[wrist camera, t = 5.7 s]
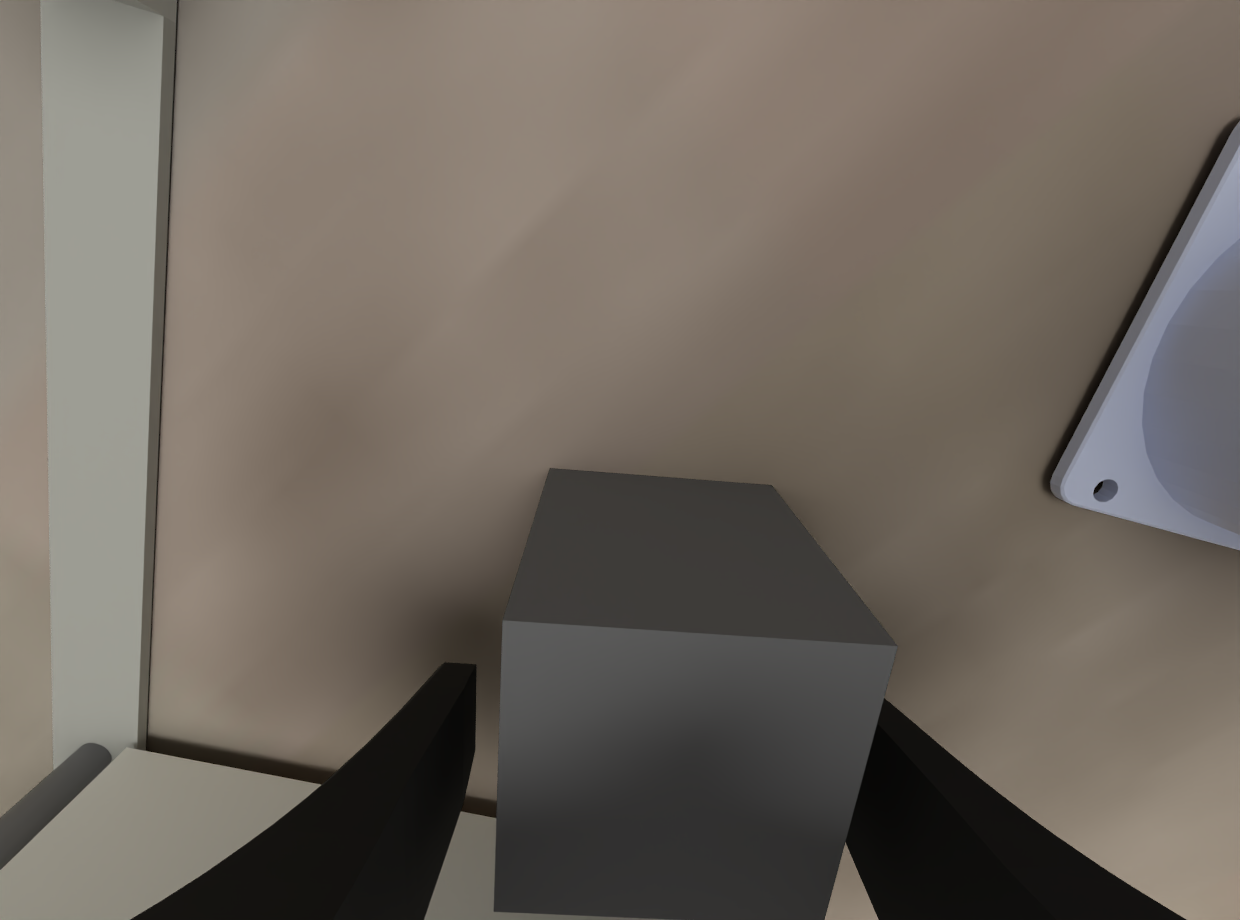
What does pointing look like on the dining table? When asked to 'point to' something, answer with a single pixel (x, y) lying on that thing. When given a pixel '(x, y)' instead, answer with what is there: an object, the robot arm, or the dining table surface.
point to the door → (197, 843)
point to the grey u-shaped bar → (101, 376)
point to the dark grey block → (679, 705)
